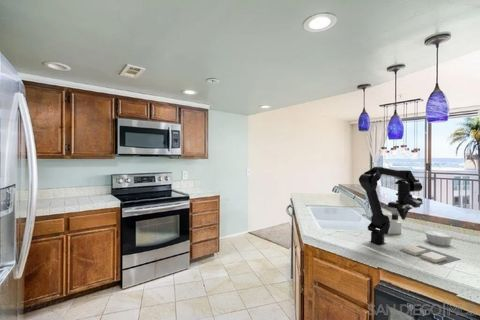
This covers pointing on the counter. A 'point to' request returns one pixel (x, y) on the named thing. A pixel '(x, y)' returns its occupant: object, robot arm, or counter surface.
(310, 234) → the counter surface
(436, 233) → the ramekin
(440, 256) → the cream angular block
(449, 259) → the slate mat
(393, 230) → the medicine bottle
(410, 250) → the sage tile
